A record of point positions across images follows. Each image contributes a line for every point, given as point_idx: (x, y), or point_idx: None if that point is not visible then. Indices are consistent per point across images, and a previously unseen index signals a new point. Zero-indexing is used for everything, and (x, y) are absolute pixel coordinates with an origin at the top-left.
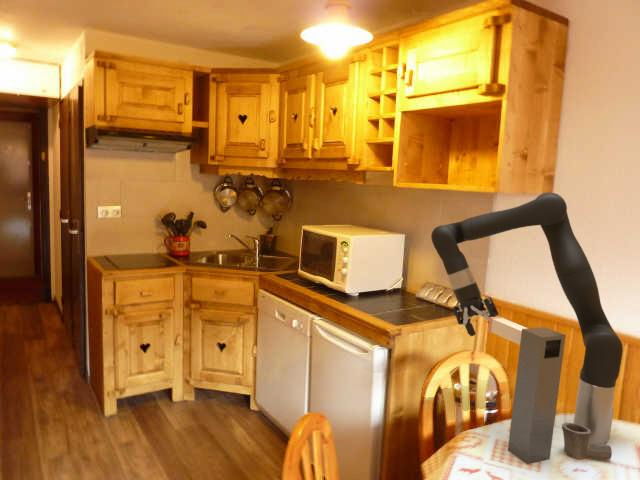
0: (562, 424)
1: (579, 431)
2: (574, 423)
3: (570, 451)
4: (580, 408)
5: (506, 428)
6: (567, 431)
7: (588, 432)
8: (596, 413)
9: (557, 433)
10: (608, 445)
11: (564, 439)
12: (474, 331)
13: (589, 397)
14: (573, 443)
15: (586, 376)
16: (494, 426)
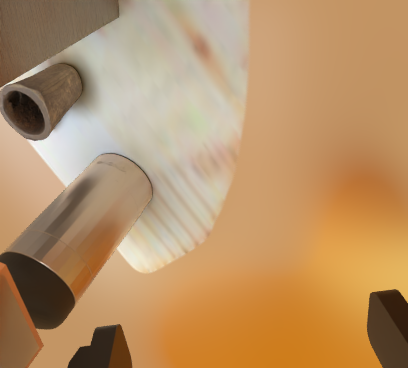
0: (40, 99)
1: (44, 124)
2: (47, 133)
3: (51, 66)
4: (82, 202)
5: (214, 45)
6: (22, 83)
7: (2, 114)
8: (52, 202)
9: (149, 141)
10: (24, 136)
11: (55, 79)
12: (380, 356)
13: (40, 225)
14: (31, 76)
15: (10, 269)
16: (239, 19)
